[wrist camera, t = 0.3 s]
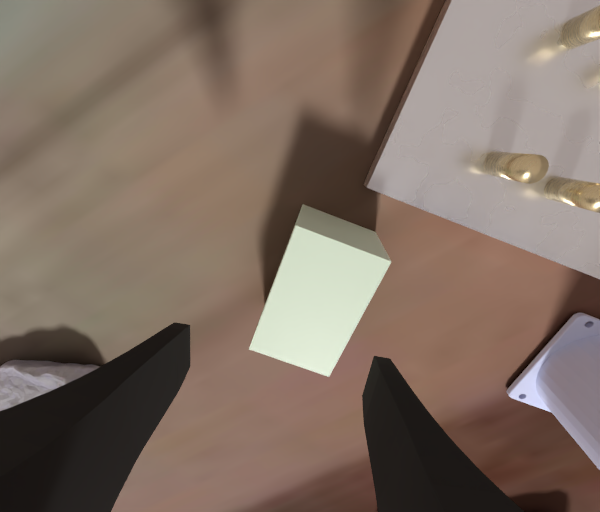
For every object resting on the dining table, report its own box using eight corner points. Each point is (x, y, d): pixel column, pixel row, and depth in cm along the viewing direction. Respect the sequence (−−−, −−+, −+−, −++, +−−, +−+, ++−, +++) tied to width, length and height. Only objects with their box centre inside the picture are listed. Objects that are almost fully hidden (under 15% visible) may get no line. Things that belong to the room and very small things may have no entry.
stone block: (4, 352, 28) (43, 442, 30) (-61, 383, 23) (-11, 488, 25) (114, 329, 27) (149, 425, 28) (67, 356, 22) (113, 470, 23)
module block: (375, 231, 19) (391, 261, 14) (328, 326, 22) (328, 376, 17) (302, 203, 19) (295, 225, 14) (265, 304, 22) (248, 349, 17)
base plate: (776, 35, 14) (972, -9, 10) (580, 269, 19) (654, 307, 14) (489, -100, 13) (569, -214, 9) (363, 183, 18) (375, 197, 14)
